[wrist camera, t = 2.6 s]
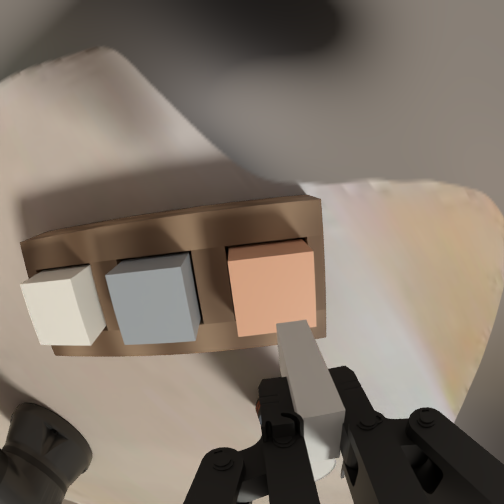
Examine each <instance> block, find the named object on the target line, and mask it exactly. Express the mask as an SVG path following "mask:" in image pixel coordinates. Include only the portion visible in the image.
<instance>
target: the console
mask: <svg viewBox="0 0 504 504" xmlns="http://www.w3.org/2000/svg"><path fill="white" fill-rule="evenodd" d="M295 239H302V240H303V241H304V242H305V243H306V244H307V245H308V246H309V247H310V248H311V249H312V250H313V251H314V270H315V293H316V327H311V328H310V329H311V331H312V334H313V336H314V338H315V339H319V338H325V337H326V287H325V259H324V239H323V222H322V207H321V199H319V198H316V197H313V196H309V195H296V196H286V197H276V198H266V199H257V200H248V201H239V202H231V203H223V204H215V205H207V206H199V207H192V208H184V209H177V210H170V211H164V212H157V213H150V214H144V215H138V216H131V217H125V218H119V219H113V220H108V221H102V222H96V223H91V224H85V225H80V226H74V227H69V228H64V229H59V230H54V231H49V232H45V233H43V234H40V235H38V236H35V237H33V238H30V239H28V240H25V241H23V242H20V245H21V249H22V254H23V258H24V262H25V266H26V270H27V274H28V278H29V279H30V278H31V277H33V276H34V275H36V274H38V273H39V272H41V271H43V270H49V269H56V268H64V267H72V266H80V265H88V264H90V266H91V270H92V275H93V279H94V283H95V286H96V290H97V294H98V298H99V301H100V305H101V308H102V312H103V315H104V318H105V322H106V327H105V328H104V329H103V330H102V332H101V333H100V334H99V336H98V337H97V338H96V340H95V341H94V342H93V344H92V345H91V346H72V345H51V346H52V349H53V351H54V354H55V355H56V356H152V355H173V354H190V353H203V352H215V351H226V350H236V349H246V348H255V347H263V346H271V345H278V340H277V332H276V333H268V334H260V335H252V336H243V337H238V331H237V324H236V317H235V310H234V303H233V296H232V289H231V282H230V275H229V268H228V253H229V247H235V246H244V245H252V244H261V243H269V242H278V241H287V240H295ZM185 252H189V253H190V259H191V265H192V271H193V277H194V282H195V288H196V294H197V299H198V304H199V310H200V315H201V319H200V324H199V328H198V332H197V337H196V341H189V342H175V343H158V344H136V345H125V344H124V341H123V338H122V335H121V332H120V328H119V325H118V322H117V318H116V315H115V311H114V308H113V304H112V300H111V297H110V293H109V289H108V285H107V281H106V277H105V275H106V274H107V273H108V272H110V271H111V270H112V269H113V268H114V267H115V266H117V265H118V264H119V263H120V262H121V261H123V260H127V259H135V258H144V257H152V256H160V255H168V254H176V253H185Z"/></svg>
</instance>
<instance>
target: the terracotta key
mask: <svg viewBox="0 0 504 504" xmlns="http://www.w3.org/2000/svg"><path fill="white" fill-rule="evenodd" d="M228 268H229V275H230V282H231V289H232V296H233V303H234V310H235V317H236V324H237V331H238V337H243V336H252V335H260V334H268V333H276V332H277V328H276V324H277V323H285V322H292V321H299V320H307V322H308V325H309V327H310V328H311V327H316V293H315V270H314V251H313V250H312V249H311V248H310V247H309V246H308V245H307V244H306V243H305V242H304V241H303V240H302V239H295V240H287V241H278V242H269V243H261V244H252V245H244V246H235V247H229V253H228Z"/></svg>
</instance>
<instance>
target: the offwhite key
mask: <svg viewBox="0 0 504 504" xmlns="http://www.w3.org/2000/svg"><path fill="white" fill-rule="evenodd" d="M20 286H21V289H22V293H23V296H24V299H25V302H26V305H27V309H28V312H29V314H30V317H31V320H32V323H33V326H34V328H35V331H36V334H37V336H38V339H39V342H40V344H41V345H72V346H91V345H92V344H93V342H94V341H95V340H96V338H97V337H98V336H99V334H100V333H101V332H102V330H103V329H104V328H105V327H106V322H105V318H104V315H103V312H102V308H101V305H100V301H99V298H98V294H97V290H96V286H95V283H94V279H93V275H92V270H91V266H90V264H88V265H80V266H72V267H64V268H56V269H49V270H43V271H41V272H39V273H38V274H36V275H34V276H33V277H31V278H30V279H28V280H26V281H25V282H23V283H21V284H20Z"/></svg>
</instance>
